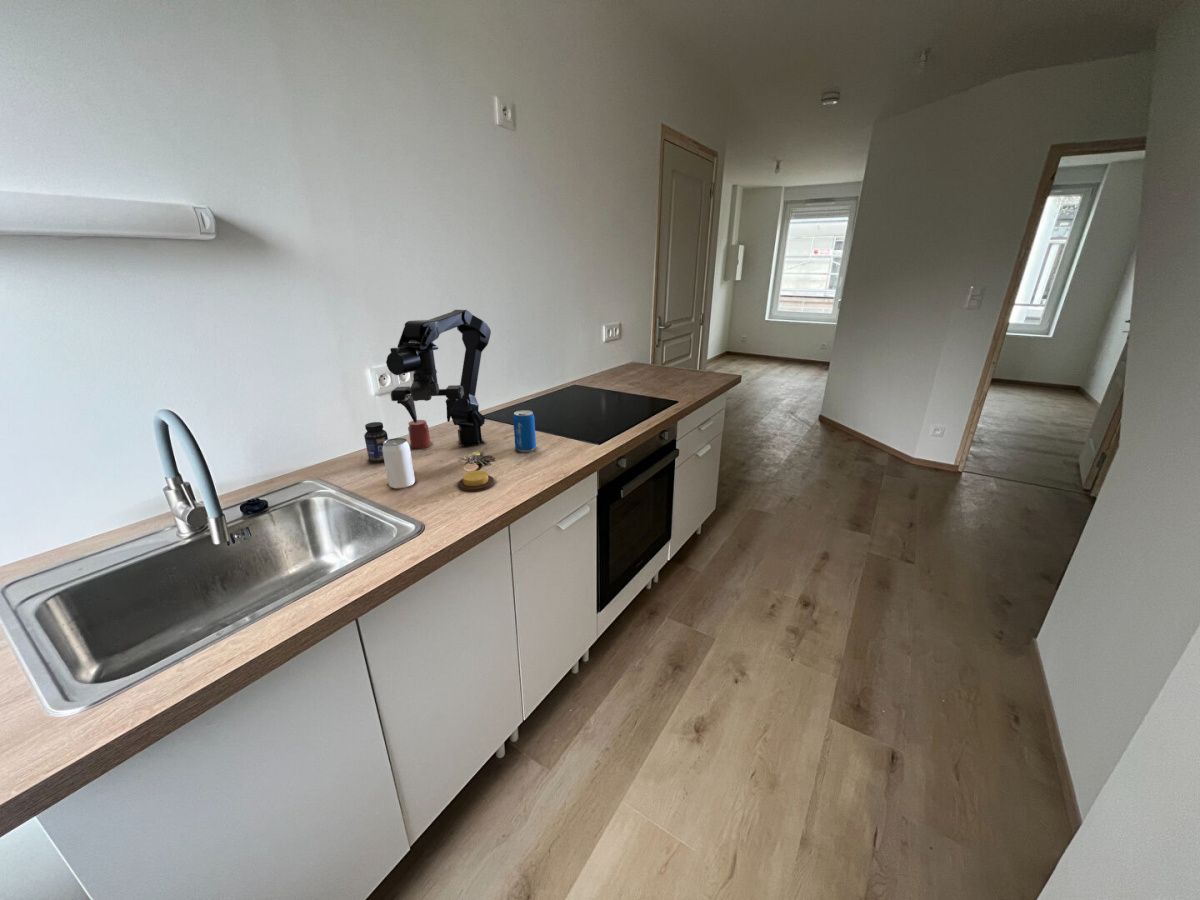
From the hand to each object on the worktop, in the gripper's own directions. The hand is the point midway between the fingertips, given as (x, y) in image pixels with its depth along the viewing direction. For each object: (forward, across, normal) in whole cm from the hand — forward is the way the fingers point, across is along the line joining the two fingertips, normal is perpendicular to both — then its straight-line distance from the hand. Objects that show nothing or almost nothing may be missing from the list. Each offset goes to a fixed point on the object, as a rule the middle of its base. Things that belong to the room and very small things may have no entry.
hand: (432, 422), depth 130 cm
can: (+12, -6, -16) cm, 21 cm away
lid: (+10, +14, -18) cm, 24 cm away
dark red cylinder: (+12, -8, +14) cm, 20 cm away
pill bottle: (+12, -17, +3) cm, 21 cm away
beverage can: (+12, +26, +6) cm, 29 cm away
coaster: (+12, +14, -18) cm, 26 cm away
